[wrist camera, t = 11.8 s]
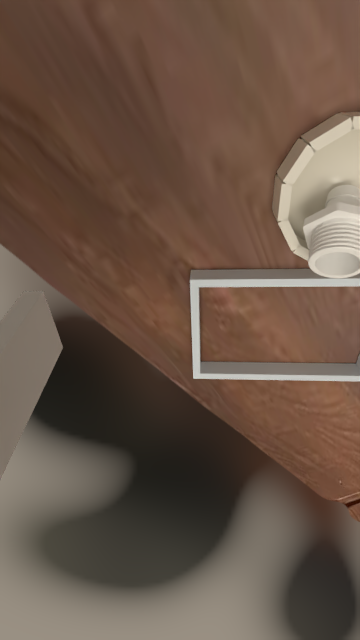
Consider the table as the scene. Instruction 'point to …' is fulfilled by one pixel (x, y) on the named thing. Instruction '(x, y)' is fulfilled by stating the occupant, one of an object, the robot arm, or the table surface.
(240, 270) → the open rectangular frame
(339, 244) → the pipe fitting
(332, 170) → the bowl
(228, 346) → the table surface
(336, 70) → the table surface
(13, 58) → the table surface
